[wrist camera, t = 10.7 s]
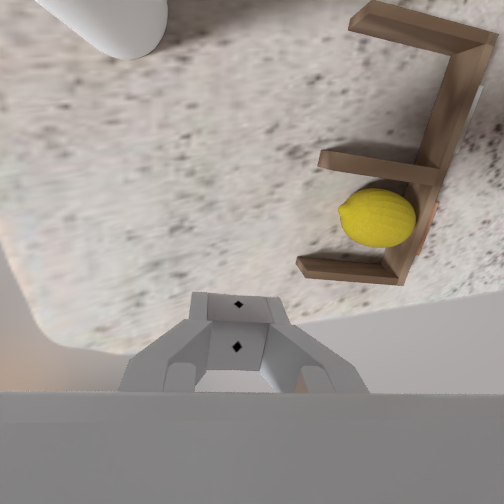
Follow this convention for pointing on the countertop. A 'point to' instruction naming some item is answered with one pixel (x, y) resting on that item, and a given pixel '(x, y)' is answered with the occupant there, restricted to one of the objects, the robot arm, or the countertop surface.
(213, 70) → the countertop surface
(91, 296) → the countertop surface
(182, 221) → the countertop surface
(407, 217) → the lemon
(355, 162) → the bay rack
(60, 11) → the cylindrical container
